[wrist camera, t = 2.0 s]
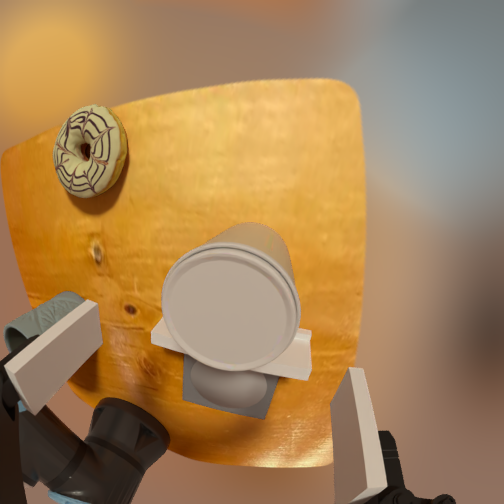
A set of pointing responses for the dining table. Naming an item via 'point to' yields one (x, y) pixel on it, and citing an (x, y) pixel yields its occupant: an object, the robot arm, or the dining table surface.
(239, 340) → the coffee cup
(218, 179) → the dining table surface
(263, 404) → the resting mat
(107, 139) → the decorated donut
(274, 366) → the low wall
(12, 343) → the grey cup
